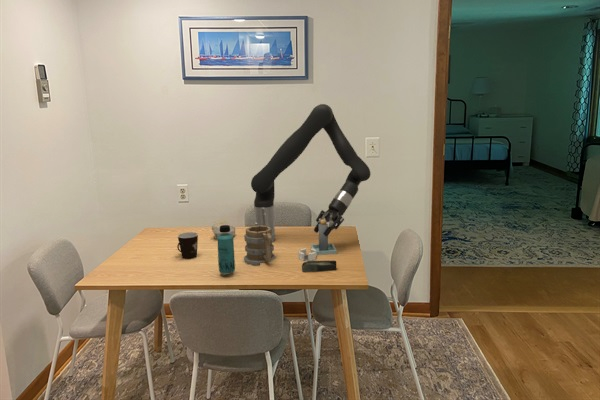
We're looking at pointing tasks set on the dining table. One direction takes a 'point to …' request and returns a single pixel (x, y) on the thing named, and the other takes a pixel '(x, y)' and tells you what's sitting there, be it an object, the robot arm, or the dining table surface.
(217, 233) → the fossil replica
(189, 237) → the coffee mug
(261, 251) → the tankard
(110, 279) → the dining table surface
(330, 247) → the tray
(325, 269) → the mobile phone
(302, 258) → the round holder stand
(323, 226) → the grey tan rounded cylinder
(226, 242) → the beverage bottle
